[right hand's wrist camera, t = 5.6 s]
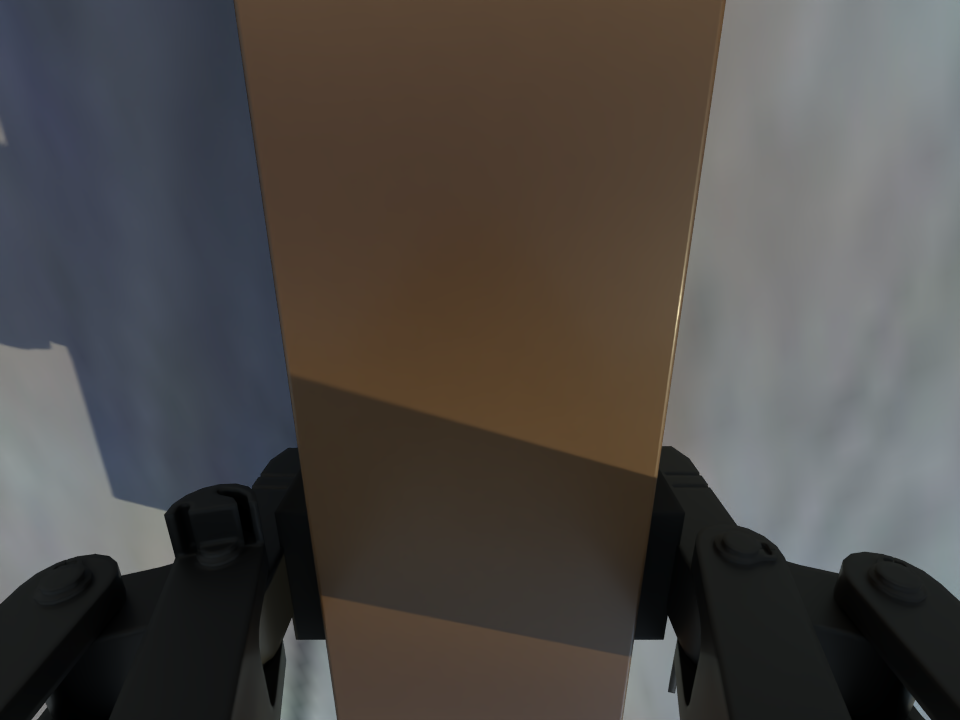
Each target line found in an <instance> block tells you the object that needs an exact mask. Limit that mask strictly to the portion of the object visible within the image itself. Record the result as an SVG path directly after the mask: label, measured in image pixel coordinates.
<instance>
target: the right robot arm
mask: <svg viewBox="0 0 960 720" xmlns="http://www.w3.org/2000/svg"><path fill="white" fill-rule="evenodd" d="M164 516H165V520H166V524H167V528H168V531H169V535H170V539H171V543H172V547H173V550H174V554H175V561H174V563H173V564H170V565H166V566H163V567H159V568H154V569H150V570H145V571H141V572H136V573H131V574H127V575H122V576H121V573H120V570H119V567H118V564H117V562H116V561H115V560H113V559H112V558H111V557H110V556H105V555H99V554H92V555H85V556H77V557H74V558H71V559H68V560H64V561H61V562H59V563H56V564H54V565H52V566H50V567H48V568H46V569H44V570H42V571H40V572H39V573H37V574H35V575H34V576H33V577H31V578H30V579H29V580H27V581H26V582H25V583H23V584H22V585H21V586H19V587H18V588H17V589H16V590H15V591H14V592H13V593H12V594H11V595H10V596H9V597H8V598H6V599H5V600H4V601H3V602H2V603H1V604H0V720H32V718H33V717H34V716H35V715H36V713H37V712H38V711H39V710H40V708H41V707H42V706H43V704H44V703H46V705H47V708H46V709H45V711H44V712H43V713H42V715H41V716H40V717H39V718H38V719H37V720H280V715H281V705H282V696H283V686H284V676H285V667H286V656H285V649H284V644H283V638H284V635H285V633H286V630H287V628H288V626H289V623H290V621H291V618H292V619H293V625H294V630H295V636H296V640H326V639H325V632H324V625H323V618H322V611H321V604H320V597H319V590H318V583H317V576H316V570H315V563H314V556H313V549H312V542H311V535H310V528H309V521H308V514H307V507H306V500H305V493H304V486H303V479H302V472H301V465H300V458H299V451H298V448H288V449H286V450H285V451H283V452H282V453H280V454H279V455H277V456H276V457H275V458H273V459H272V460H270V462H269V463H268V465H267V466H266V467H265V469H264V470H263V472H262V473H261V476H260V477H258V479H257V480H256V482H255V483H254V484H253V486H252V489H251V488H249V487H248V486H244V485H240V484H219V485H214V486H210V487H206V488H202V489H200V490H197V491H195V492H193V493H190V494H188V495H186V496H184V497H183V498H181V499H180V500H178V501H177V502H175V503H174V504H173V505H172V506H171V507H170V508H169V509H168V511H167V512H166V513H165V514H164ZM667 617H669V619H670V621H671V624H672V626H673V629H674V631H675V633H676V636H677V644H676V649H675V654H674V660H673V665H672V671H671V676H670V682H669V689H668V692H671V693H675V690H676V685H677V694H678V704H679V714H680V720H925V719H924V718H923V717H922V716H921V714H920V713H919V712H918V711H917V709H916V708H915V707H914V706H913V704H914V701H915V700H916V701H917V702H918V704H919V705H920V706H921V707H922V709H923V710H924V711H925V712H926V714H927V715H928V716H929V717H930V719H931V720H960V601H959V600H958V599H957V598H956V597H955V596H953V595H952V594H951V593H950V592H949V591H948V590H947V589H946V588H945V587H944V586H943V585H942V584H940V583H939V582H938V581H936V580H935V579H934V578H932V577H931V576H930V575H928V574H927V573H926V572H924V571H923V570H921V569H919V568H917V567H915V566H913V565H911V564H909V563H907V562H905V561H903V560H900V559H897V558H893V557H891V556H887V555H884V554H878V553H870V552H860V553H853V554H850V555H849V556H848V557H846V558H845V559H844V560H843V562H842V565H841V569H840V572H839V574H838V573H834V572H829V571H825V570H820V569H816V568H811V567H807V566H802V565H798V564H794V563H791V562H787V561H786V560H785V557H784V556H783V554H782V553H781V552H780V550H779V549H778V547H777V546H776V545H775V544H773V543H772V542H771V541H769V540H768V539H767V538H766V537H764V536H763V535H760V534H758V533H756V532H754V531H752V530H750V529H748V528H744V527H740V526H737V525H736V523H735V522H734V520H733V519H732V518H731V516H730V515H729V513H728V512H727V511H726V509H725V508H724V506H723V505H722V504H721V502H720V501H719V499H718V498H717V497H716V495H715V494H714V492H713V491H712V490H711V488H710V487H708V484H707V483H706V481H705V480H704V478H703V477H702V476H701V475H699V471H698V470H697V469H696V467H695V466H694V464H693V463H692V462H691V460H690V459H689V458H688V457H686V456H685V455H683V454H682V453H680V452H679V451H678V450H676V449H675V448H673V447H672V446H662V448H661V455H660V462H659V469H658V476H657V483H656V490H655V497H654V504H653V511H652V518H651V525H650V532H649V539H648V545H647V552H646V559H645V566H644V573H643V580H642V587H641V594H640V601H639V608H638V615H637V622H636V629H635V636H634V640H664V634H665V628H666V623H667Z"/></svg>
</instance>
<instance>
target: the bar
mask: <svg viewBox="0 0 960 720" xmlns="http://www.w3.org/2000/svg"><path fill="white" fill-rule="evenodd" d="M725 3H726V0H234V7H235V14H236V21H237V28H238V35H239V42H240V49H241V56H242V63H243V70H244V77H245V83H246V90H247V97H248V104H249V111H250V118H251V125H252V132H253V139H254V146H255V153H256V160H257V167H258V174H259V181H260V188H261V195H262V201H263V208H264V215H265V222H266V229H267V236H268V243H269V250H270V257H271V264H272V271H273V278H274V285H275V292H276V299H277V306H278V313H279V320H280V326H281V333H282V340H283V347H284V354H285V361H286V368H287V375H288V382H289V389H290V396H291V403H292V410H293V417H294V424H295V431H296V438H297V445H298V451H299V458H300V465H301V472H302V479H303V486H304V493H305V500H306V507H307V514H308V521H309V528H310V535H311V542H312V549H313V556H314V563H315V570H316V576H317V583H318V590H319V597H320V604H321V611H322V618H323V625H324V632H325V639H326V646H327V653H328V660H329V667H330V674H331V681H332V688H333V694H334V701H335V708H336V715H337V720H622V719H623V712H624V705H625V698H626V692H627V685H628V678H629V671H630V664H631V657H632V650H633V643H634V636H635V629H636V622H637V615H638V608H639V601H640V594H641V587H642V580H643V573H644V566H645V559H646V552H647V545H648V539H649V532H650V525H651V518H652V511H653V504H654V497H655V490H656V483H657V476H658V469H659V462H660V455H661V448H662V441H663V434H664V427H665V420H666V413H667V406H668V399H669V392H670V386H671V379H672V372H673V365H674V358H675V351H676V344H677V337H678V330H679V323H680V316H681V309H682V302H683V295H684V288H685V281H686V274H687V267H688V260H689V253H690V246H691V239H692V233H693V226H694V219H695V212H696V205H697V198H698V191H699V184H700V177H701V170H702V163H703V156H704V149H705V142H706V135H707V128H708V121H709V114H710V107H711V100H712V93H713V86H714V80H715V73H716V66H717V59H718V52H719V45H720V38H721V31H722V24H723V17H724V10H725Z"/></svg>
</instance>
